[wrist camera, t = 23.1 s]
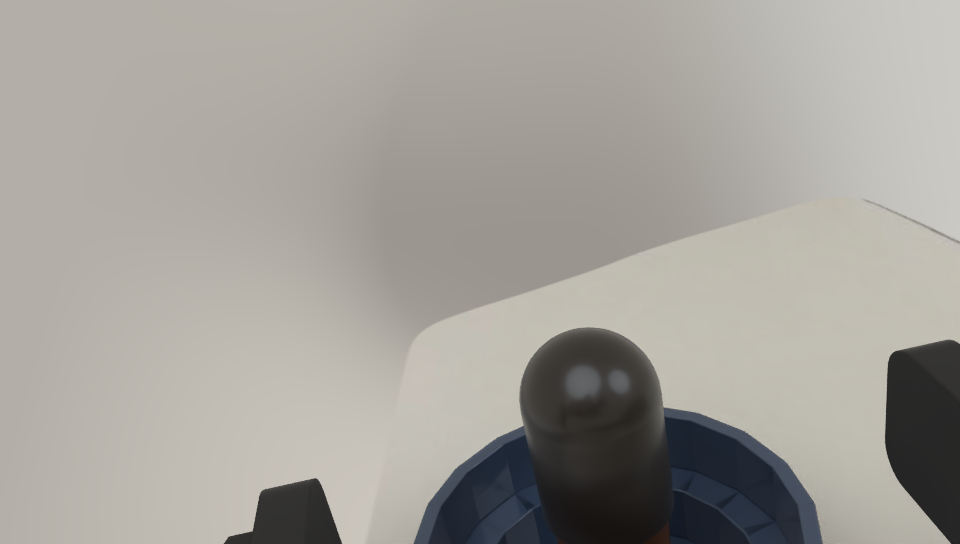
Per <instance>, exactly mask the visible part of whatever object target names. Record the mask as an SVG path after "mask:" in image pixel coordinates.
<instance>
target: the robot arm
mask: <svg viewBox="0 0 960 544" xmlns="http://www.w3.org/2000/svg"><path fill="white" fill-rule="evenodd" d="M885 444H886V451H887V455H888V459H889V462H890V465H891V467H892V469H893V472H894V474H895V475H896V477H897V479H898V481H899V482H900V484H901V485H902V486H903V487H904V489H905V490H906V491H907V492H908V493H909V495H910V496H911V497H912V498H913V499H914V500H915V502H916V503H917V504H918V505H919V506H920V507H921V509H922V510H923V511H924V512H925V513H926V515H927V516H928V517H929V518H930V519H931V520H932V522H933V523H934V524H935V525H936V526H937V527H938V529H939V530H940V531H941V532H942V533H943V535H944V536H945V537H946V538H947V539H948V540H949V542H950V543H951V544H960V344H959V343H957V342H955V341H953V340H944V341H939V342H935V343H930V344H926V345H921V346H917V347H912V348H908V349H903V350H899V351H895V352H893V353H892V355H891V356H890V358H889V362H888V374H887V401H886V429H885ZM224 544H342V542H341V540H340V537H339V534H338V531H337V528H336V525H335V522H334V520H333V517H332V514H331V511H330V508H329V505H328V502H327V500H326V496H325V494H324V491H323V488H322V486H321V484H320V482H319V481H318V479H316V478H314V479H310V480H305V481H301V482H297V483H292V484H287V485H283V486H279V487H274V488H269V489H265V490H263V491H262V492H261V494H260V496H259V501H258V507H257V512H256V517H255V522H254V528H253V531H252V532H248V533H243V534H239V535H234V536H230V537H228V539H227V540H226V542H225V543H224Z"/></svg>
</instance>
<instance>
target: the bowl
mask: <svg viewBox="0 0 960 544" xmlns="http://www.w3.org/2000/svg"><path fill="white" fill-rule="evenodd" d="M663 410H664V418H665V426H666V434H667V442H668V451H669V459H670V467H671V475H672V483H673V492H674V508H673V512H672V514H671V517H670V519H669V520H668V523H669V530H670V538H671V544H823V541H822V536H821V531H820V526H819V521H818V516H817V511H816V506H815V504H814V502H813V500H812V499H811V497H810V496H809V494H808V493H807V491H806V490H805V488H804V487H803V486H802V484H801V483H800V481H799V480H798V478H797V477H796V475H795V474H794V472H793V471H792V470H791V468H790V467H789V465H788V464H787V463H786V462H785V461H784V460H783V459H781V458H780V457H779V456H777V455H776V454H775V453H773V452H772V451H771V450H769V449H768V448H767V447H765V446H764V445H763V444H761V443H760V442H759V441H757V440H756V439H755V438H753V437H752V436H750V435H749V434H748V433H745V431H742V430H740V429H737V428H735V427H732V426H730V425H727V424H725V423H722V422H720V421H717V420H714V419H712V418H709V417H707V416H704V415H702V414H699V413H695V412H689V411H683V410H677V409H670V408H664V407H663ZM414 544H558V543H557V539H556V535H554V534H553V533H552V531H551V530H550V529H549V528H548V526H547V524H546V523H545V520H544V517H543V513H542V509H541V504H540V499H539V495H538V490H537V485H536V481H535V476H534V471H533V467H532V462H531V457H530V453H529V448H528V443H527V439H526V434H525V429H524V426H523V427H520V428H518V429H516V430H514V431H511V432H509V433H507V434H505V435H502V436H500V437H498V438H496V439H495V440H493V441H492V442H491V443H489V444H488V445H487V446H485V447H484V448H483V449H481V450H480V451H479V452H477V453H476V454H475V455H473V456H472V457H471V458H469V459H468V460H467V461H465V462H464V463H463V464H461V465H460V466H459V467H458V468H456V469H455V470H454V472H453V473H452V474H451V475H450V477H449V478H448V479H447V481H446V482H445V483H444V484H443V486H442V487H441V488H440V489H439V491H438V492H437V493H436V494H435V496H434V497H433V498H432V500H431V501H430V502H429V503H428V506H427V508H426V510H425V513H424V516H423V519H422V522H421V524H420V527H419V530H418V533H417V536H416V538H415V541H414Z"/></svg>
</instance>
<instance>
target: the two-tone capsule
mask: <svg viewBox="0 0 960 544" xmlns="http://www.w3.org/2000/svg"><path fill="white" fill-rule="evenodd" d="M519 401H520V409H521V415H522V420H523V425H524V429H525V434H526V439H527V443H528V448H529V453H530V457H531V462H532V467H533V471H534V476H535V481H536V485H537V490H538V495H539V499H540V504H541V509H542V513H543V517H544V520H545V523H546V524H547V526H548V528H549V529H550V530H551V531H552V533H553V534H554V535H556V539H557V543H558V544H671V538H670V530H669V523H668V520H669V519H670V517H671V514H672V512H673V508H674V492H673V483H672V475H671V467H670V459H669V451H668V442H667V434H666V426H665V418H664V410H663V401H662V393H661V387H660V382H659V379H658V376H657V374H656V371H655V369H654V367H653V365H652V363H651V362H650V360H649V359H648V357H647V356H646V355H645V353H644V352H643V351H642V350H641V349H640V348H639V347H638V346H637V345H636V344H634V343H633V342H632V341H630V340H629V339H627V338H626V337H624V336H622V335H620V334H618V333H615V332H612V331H610V330H606V329H601V328H578V329H573V330H569V331H566V332H564V333H561V334H559V335H557V336H555V337H553V338H552V339H550V340H549V341H547V342H546V343H545V344H544V345H542V346H541V347H540V348H539V349H538V350H537V352H536V353H535V354H534V355H533V357H532V358H531V360H530V361H529V363H528V365H527V367H526V369H525V371H524V374H523V377H522V380H521V386H520V397H519Z"/></svg>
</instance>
